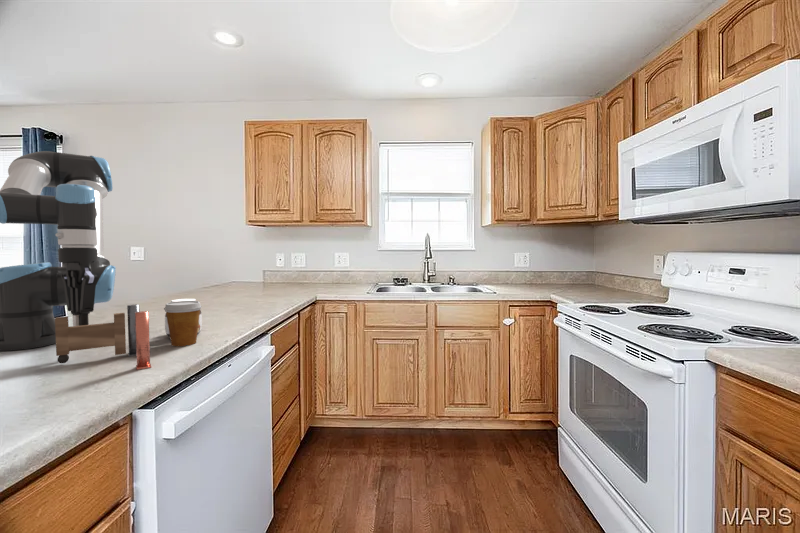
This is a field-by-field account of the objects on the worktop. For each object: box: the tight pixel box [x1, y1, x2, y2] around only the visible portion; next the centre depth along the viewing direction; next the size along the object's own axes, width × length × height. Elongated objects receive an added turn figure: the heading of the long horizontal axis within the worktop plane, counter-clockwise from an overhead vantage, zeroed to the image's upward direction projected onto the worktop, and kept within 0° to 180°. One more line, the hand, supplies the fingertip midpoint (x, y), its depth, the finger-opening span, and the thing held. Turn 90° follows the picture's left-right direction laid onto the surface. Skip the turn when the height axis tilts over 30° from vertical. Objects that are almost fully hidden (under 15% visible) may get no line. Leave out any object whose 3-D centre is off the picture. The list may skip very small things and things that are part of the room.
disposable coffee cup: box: [163, 300, 202, 347], centre depth 110 cm, size 10×10×12 cm
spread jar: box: [164, 298, 203, 338], centre depth 120 cm, size 12×11×12 cm
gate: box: [54, 312, 127, 364], centre depth 93 cm, size 2×13×11 cm, turn 128°
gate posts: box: [126, 304, 152, 371], centre depth 93 cm, size 17×4×13 cm, turn 38°
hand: (81, 339), depth 96 cm, fingers closed
